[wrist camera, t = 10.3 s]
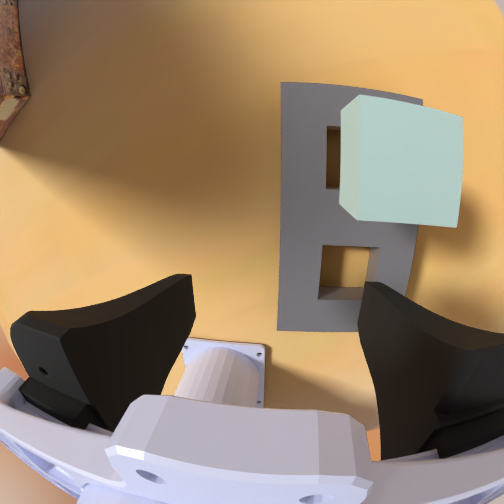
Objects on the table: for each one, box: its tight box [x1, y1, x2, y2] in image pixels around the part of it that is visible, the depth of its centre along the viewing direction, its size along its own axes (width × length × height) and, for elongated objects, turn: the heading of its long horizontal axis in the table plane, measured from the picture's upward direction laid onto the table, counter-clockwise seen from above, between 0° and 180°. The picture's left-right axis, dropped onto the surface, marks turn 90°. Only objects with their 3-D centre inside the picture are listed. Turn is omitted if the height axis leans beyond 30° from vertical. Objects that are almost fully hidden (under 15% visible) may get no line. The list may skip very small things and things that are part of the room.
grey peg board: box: [277, 82, 423, 332], centre depth 19 cm, size 18×10×2 cm, turn 1°
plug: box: [339, 94, 463, 228], centre depth 11 cm, size 4×4×6 cm
